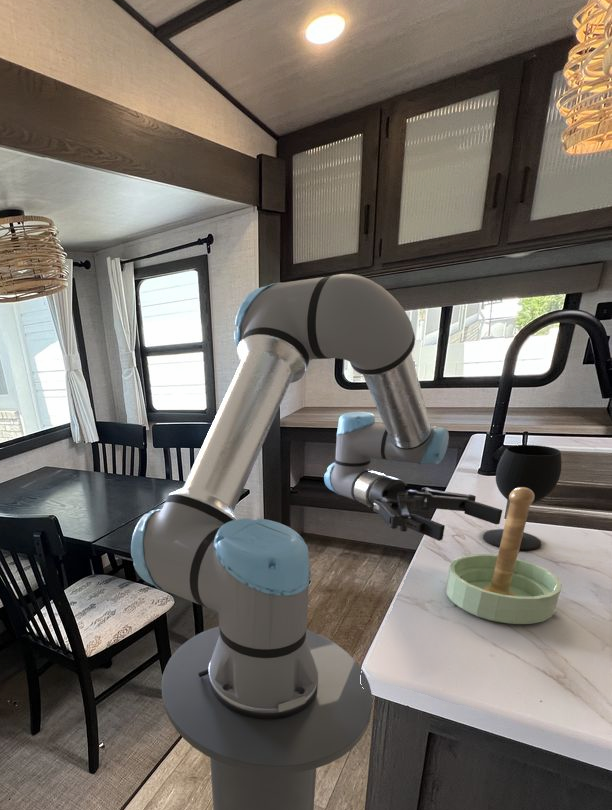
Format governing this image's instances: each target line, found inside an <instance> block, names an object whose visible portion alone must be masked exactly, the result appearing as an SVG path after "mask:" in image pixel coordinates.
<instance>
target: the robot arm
mask: <svg viewBox="0 0 612 810" xmlns="http://www.w3.org/2000/svg"><path fill="white" fill-rule="evenodd" d="M234 326H236V329H235V330H234V331H233V336H234V338H233V339H234V343H235V348H236V352H237V354H236V355H237V358H238V361H239V362H240V364H239V366H238V367H237V370H236V371H235V375H234V377H233V379H232V381H231V383H230V385H229V387H228V389H227V392H226V394H225V396H224V397H223V400H222V402H221V404H220V406H219V409H218V410H217V413H216V415H215V418H214V420H213V421H212V424H211V426H210V428H209V430H208V432H207V435H206V437H205V439H204V441H203V443H202V445H201V448H200V449H199V452H198V454H197V456H196V458H195V460H194V462H193V465H192V467H191V469H190V471H189V473H188V475H187V477H186V479H185V482H184V484H183V486H182V488H180V489H177V490H175V491H172V492H170V493H168V495H167V497H166V500H165V501H164V503H163V506H162V508H158V509H153V510H150V511H148V513H145V514H143V516H142V517H140V519H139V520H138V522H137V523H136V525H135V528H134V530H133V533H132V537H131V543H130V555H131V559H132V560H133V563H132V564H133V567H134V570H135V571H136V573H137V575H138V577H140V578H141V579H142V580H143V581H144V582H145V583H148V584H150V585H152V586H154V587H155V588H156V589H158V590H160V591H162V592H164V593H170V594H171V595H175V596H177V597H180V598H182V599H185V600H187V601H189V602H192V603H194V604H197V605H200V606H202V607H203V608H207V609H209V610H211V611H213V612H216V613H217V615H218V626H219V628H220V635H219V638H218V641H217V644H216V647H215V650H214V652H213V655H212V658H211V661H210V664H209V668H208V669H206V670H203V671H201V672H198V675H199V677H202V676H205V675H207V674H209V683H210V687H211V690H212V692H213V694H214V695H215V697H216V698H217V699H218V700H219V701H220V702H221V703H222V704H223V705H224V706H226V707H227V708H228V709H230V710H232V711H234V712H236V713H238V714H241V715H243V716H247V717H251V718H256V719H267V720H271V719H281V718H286V717H289V716H293V715H295V714H297V713H299V712H301V711H303V710H304V709H305V708H307V707H308V706H309V705H310V704H311V703H312V701H313V700H314V698H315V696H316V693H317V686H318V671H317V668H316V665H315V663H314V660H313V657H312V654H311V651H310V648H309V646H308V643H307V640H306V630H307V627H308V626H307V623H308V607H309V592H310V590H309V588H310V581H311V576H312V575H311V567H310V553H309V548H308V545H307V544H306V542H305V540H304V538H303V537H302V536H301V535H300V534H299V533H298V532H297V531H296V530H295V529H292V527H290V526H288V525H285V524H282V523H281V522H278V521H274V520H270V519H266V518H258V517H257V518H256V519H251V518H250V517H246V518H245V517H244V518H238V519H237V516H236V514H235V509H236V506H237V504H238V502H239V500H240V497H241V495H242V493H243V491H244V489H245V486H246V484H247V482H248V479H249V477H250V475H251V473H252V471H253V468H254V465H255V463H256V461H257V459H258V456H259V454H260V453H261V450H262V448H263V446H264V443H265V441H266V439H267V436H268V434H269V432H270V429H271V428H272V425H273V423H274V421H275V418H276V416H277V414H278V411H279V410H280V407H281V405H282V401H283V400H284V397H285V396H286V393H287V390H288V388H289V386H290V385H291V384H294V383H297V382H298V381H299V380H301V379H302V378H303V377H304V375H305V374H306V371H307V369H308V367H309V365H310V363H311V361H312V360H327V359H328V360H330V359H339V360H344V361H348V362H349V363H350V366H351V368H352V369H353V370H354V371H355V372H356V373H358V374H360V375H362V377H363V380H364V381H365V383H366V386H367V388H368V390H369V393H370V395H371V397H372V399H373V402H374V404H375V407H376V409H377V411H378V414H379V416H380V418H381V422H382V423H379V422H378V423H377V422H376V420H375V419H376V418H375V414H374V413H372V412H367V411H351V412H345V413H343V414H341V415H340V417H339V418H338V422H337V431H336V443H335V460H334V462H332V463H331V464H330V465H328V467H327V468H326V472H324V476H323V481H324V484H325V486H326V487H327V489H329V490H330V491H332V492H334V493H335V494H337V495H339V496H342V497H346V498H348V499H351V500H353V501H356V502H358V503H360V504H363V505H365V506H367V507H368V508H371V509H373V512H374V513H376V514H378V515H379V516H380V517H381V518H382V519H383V521H384V522H385V523H386V525H388V527H389V528H390V529H393V530H396V529H398V527H399V531H400V532H402V533H403V532H408V529H411V530H413V531H416V532H418V533H420V534H422V535H425V536H427V537H429V538H432V539H434V540H437V541H439V542H440V541H443V539H444V533H445V526H446V525H444V524H442V523H440V522H438V521H434V520H432V519H429V518H427V517H424V516H421V515H419V514H417V513H412V514H410V513H409V512H413V511H415V510H419V511H429V510H431V509H436V510H446V511H456V512H463V514H465V515H467V516H470V517H473V518H476V519H479V520H482V521H485V522H488V523H489V524H494V525H496V526H497V525H500V524H501V519H502V515H503V509H502V508H497V507H494V506H491V505H488V504H484V503H481V502H478V501H476V499H477V496H476V495H473V494H470V493H469V494H465V493H460V492H451V491H444V490H438V489H432V488H429V487H422V488H421V491H418V490H416V489H410V488H409V486H408V484H407V483H406V482H405V481H404V480H403V479H399V478H396V477H393V476H389V475H387V474H384V473H381V472H378V471H375V470H371V469H370V465H371V459H377V460H387V461H395V462H403V463H411V464H412V463H413V464H418V465H422V464H423V465H438V464H439V463H441V462H442V461H443V460H444V459H445V455H446V453H447V450H448V446H449V439H450V435H449V434H450V433H449V431H448V429H447V428H446V427H440V426H437V425H434V426H432V425H431V421H430V418H429V414H428V410H427V407H426V402H425V400H424V399H425V398H424V395H423V392H422V388H421V384H420V381H419V376H418V374H417V370H416V366H415V362H414V358H413V355H412V353H413V351H414V348H415V345H416V336H415V332H414V329H413V324H412V321H411V320H410V317H409V316H408V313H407V312H406V310H405V308H403V306H402V305H401V304H400V303H399V301H398V300H397V299H396V298H395V297H394V296H393V295H392V294H391V293H390V292H389V291H388V290H386V289H385V288H384V287H383V286H382V285H380V284H378V283H376V282H375V281H373V280H371V279H369V278H367V277H365V276H362V275H359V274H353V273H339V274H333V275H329V276H322V277H315V278H308V279H300V280H295V281H294V280H293V281H286V282H285V281H284V282H274V283H270V284H268V285H264V286H261V287H259V288H255V289H254V290H253V291H251V292H250V293H249V294H247V296H246V297H245V298H244V299H243V301H242V303H241V304H240V306H239V308H238V310H237V313H236V316H235V321H234ZM424 503H425V505H424Z"/></svg>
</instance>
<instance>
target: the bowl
mask: <svg viewBox="0 0 612 810" xmlns="http://www.w3.org/2000/svg"><path fill="white" fill-rule="evenodd" d="M497 557H498V554H488V553H486V554H485V553H484V554H482V553H481V554H480V553H479V554H476V553H475V554H469V555H463V556H460V557H458V558H455V559H454V560H452V562H451V563H450V564H449V567H448V574H447V579H446V585H445V593H446V596H447V597H448V598H449V600H450V601H451V602H452V603H453V604H454V605H456V606H457V607H459V608H460V609H462V610H463V611H466V612H467V613H469V614H471V615H473V616H476V617H477V618H481V619H484V620H487V621H491V622H495V623H501V624H509V625H531V624H537V623H543V622H545V621H547V620H549V619H551V618H552V617H553V615H554V613H555V610H556V607H557V604H558V601H559V597H560V594H561V591H562V587H563V585H562V582H561V581H560V579H559V577H558V576H557V575H556V574H554V573H553V572H551V571H550V570H549V569H547V568H545V567H542V566H541V565H539V564H536V563H533V562H530V561H527V560H524V559H521V558H517V560H516V564H515V568H514V572H513V576H512V580H511V584H510V588H509V590H511V591H512V592H513V593H514V596H510V595H503V594H498V593H494V592H490V591H487V590H484V588H485V587H487V586H491V583H492V579H493V574H494V570H495V566H496V561H497Z"/></svg>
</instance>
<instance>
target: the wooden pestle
mask: <svg viewBox="0 0 612 810" xmlns="http://www.w3.org/2000/svg"><path fill="white" fill-rule="evenodd" d="M533 501H534V493H533V491H532V490H530V489H529V488H526V487H519V488H516V489H514V490H513V491H512V492H511V493H510V495H509V501H508V502H509V505H508V509H507V514H506V518H505V522H504V527H503V529H504V531H503V535H502V539H501V544H500V547H498V548H499V549H498V553H497V555H498V557H497V561H496V566H495V570H494V574H493V579H492V583H491V586H487V587H485V588H484V590H487V591H490V592H494V593H498V594H503V595H510V596H514V593H513V592H512V591H511V590H509V588H510V584H511V580H512V576H513V572H514V568H515V564H516V560H517V559H518V556H519V552H520V551H519V548H520V544H521V540H522V536H523V532H524V533H525V527H526V523H527V520H528V515H529V511H530V507H531V505H532V504H533V503H532V502H533ZM531 503H532V504H531Z"/></svg>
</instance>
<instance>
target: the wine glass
mask: <svg viewBox="0 0 612 810" xmlns="http://www.w3.org/2000/svg"><path fill="white" fill-rule="evenodd" d="M562 461H563V460H562V453H561V451H560V449H557V448H555V447H550V446H546V445H537V444H536V445H535V444H517V445H511V446H508V447H506V449H505V450H504V451H503V453H502V455H501V456H500V459H499V461H498V463H497V467H496V471H495V485H496V487H497V489H498V492H500V494H501V495H502V496H503V497H504V498H505V499H506V500H507V501H508V502H510V501H509V495H510V493H511V492H512V491H513V490H514V489H516V488H519V487H526V488H529V489H530V490H532V491H533V493H534V501H533V502H532V503H531V504H530V505H533V504H535V503H536V502H539V501H540V500H543V499H544V498H546V497H547V496H548V495H549V494H551V493H552V492H553V491H554V489H555V488H556V487H557V485H558V482H559V480H560V477H561V474H562V466H563V465H562V463H563V462H562ZM503 531H504V528H503V529H501V528H499V529H490V530H487V531H485V532H484V533H483V534H482V539H483V540H484V541H485V542H486V543H487V544H489V545H491V546H494V547H497V548H500V544H501V539H502V535H503ZM541 546H542V541H541V540H540V539H539V538H538V537H537V536H535V535H533V534H530V533H527V532H525V531H524V532H523V536H522V540H521V544H520V548H519V552H528V551H534V550H537V549H539V548H541Z"/></svg>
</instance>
